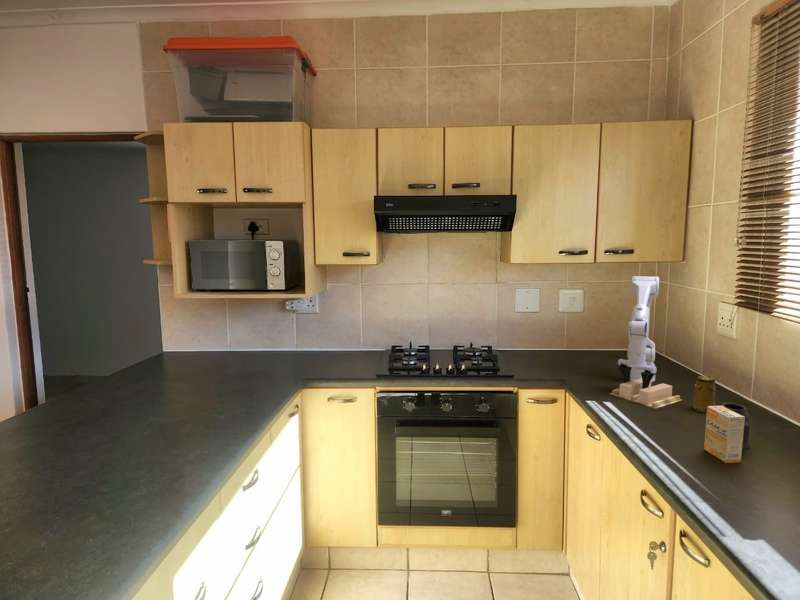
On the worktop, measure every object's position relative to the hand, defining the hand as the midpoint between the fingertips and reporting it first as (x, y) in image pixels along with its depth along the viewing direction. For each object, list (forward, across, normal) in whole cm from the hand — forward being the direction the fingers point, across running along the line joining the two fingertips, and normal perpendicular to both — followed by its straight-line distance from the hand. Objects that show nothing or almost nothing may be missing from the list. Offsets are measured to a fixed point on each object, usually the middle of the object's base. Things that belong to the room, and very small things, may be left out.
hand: (635, 387), depth 178 cm
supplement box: (+4, +43, -24) cm, 50 cm away
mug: (+4, +41, -14) cm, 44 cm away
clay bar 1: (+3, 0, 0) cm, 3 cm away
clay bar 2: (+3, +8, 0) cm, 8 cm away
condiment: (+4, +23, +4) cm, 24 cm away
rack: (+3, +4, 0) cm, 5 cm away
